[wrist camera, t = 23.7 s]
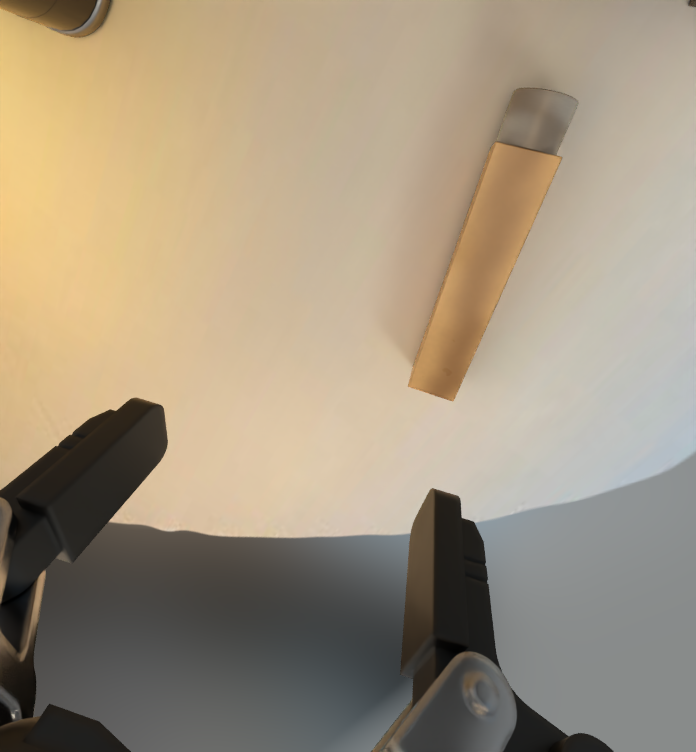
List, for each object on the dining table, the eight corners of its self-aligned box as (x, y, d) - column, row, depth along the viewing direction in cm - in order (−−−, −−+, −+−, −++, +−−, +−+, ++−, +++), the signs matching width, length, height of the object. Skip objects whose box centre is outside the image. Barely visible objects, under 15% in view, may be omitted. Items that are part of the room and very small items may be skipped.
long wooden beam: (412, 366, 36) (407, 386, 33) (508, 96, 25) (516, 82, 22) (454, 379, 36) (453, 401, 32) (570, 110, 25) (589, 98, 21)
